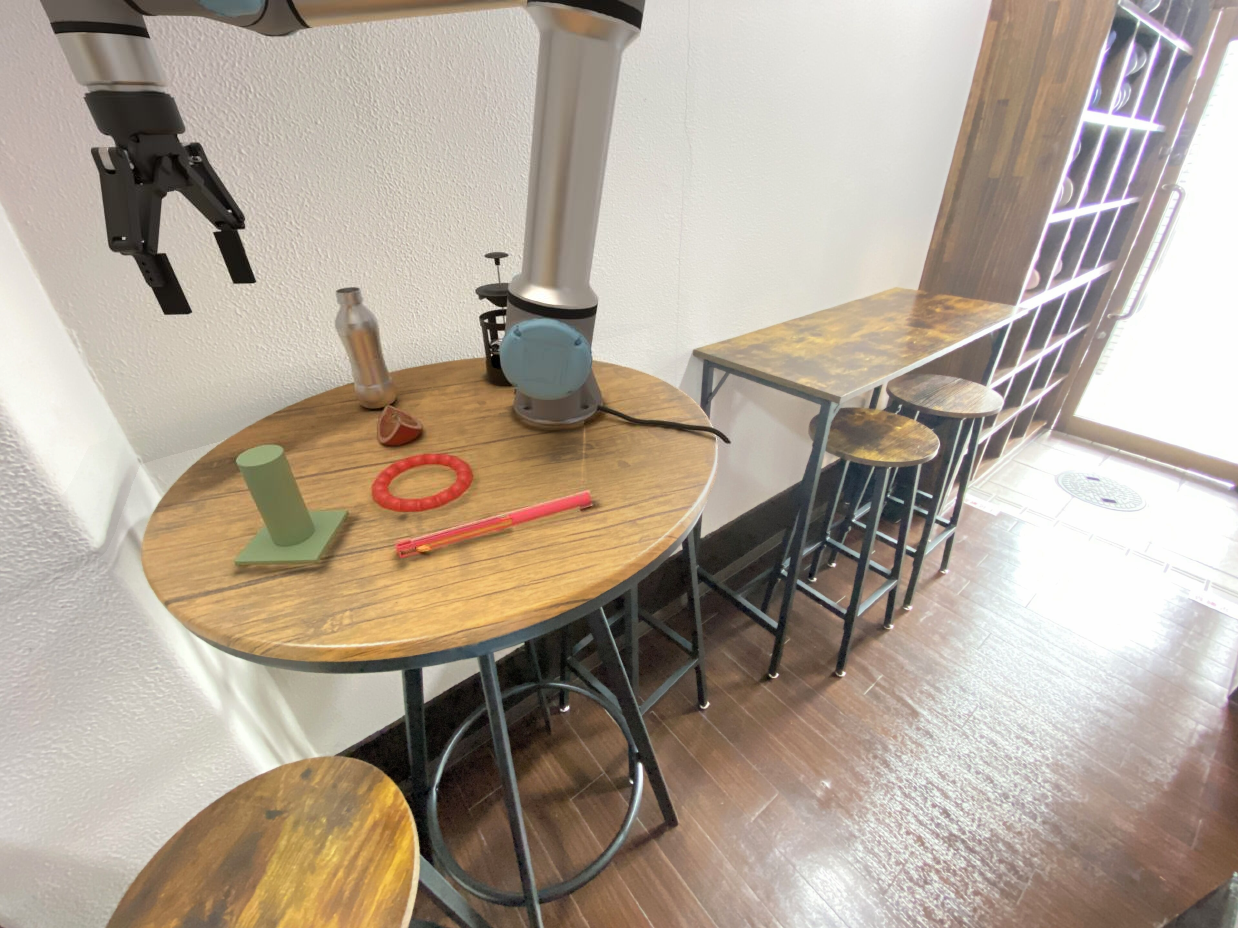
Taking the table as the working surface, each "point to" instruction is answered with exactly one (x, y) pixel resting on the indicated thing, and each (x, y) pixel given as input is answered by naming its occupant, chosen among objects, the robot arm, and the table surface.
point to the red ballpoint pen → (494, 523)
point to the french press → (494, 323)
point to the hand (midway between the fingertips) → (214, 297)
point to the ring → (417, 505)
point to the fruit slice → (397, 427)
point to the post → (283, 513)
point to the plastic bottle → (363, 349)
